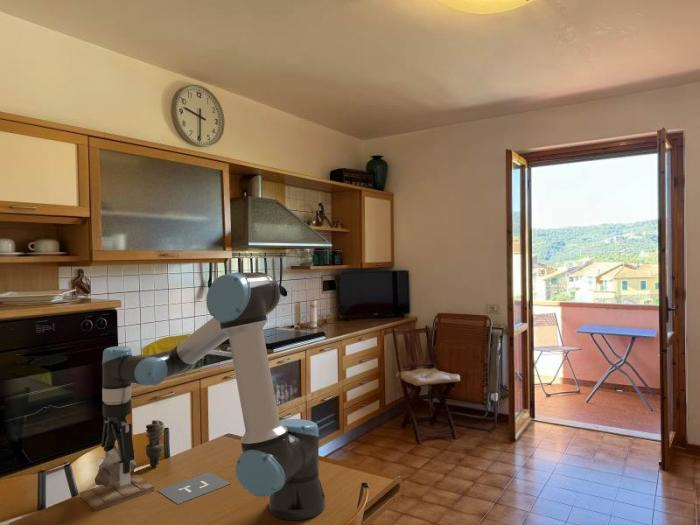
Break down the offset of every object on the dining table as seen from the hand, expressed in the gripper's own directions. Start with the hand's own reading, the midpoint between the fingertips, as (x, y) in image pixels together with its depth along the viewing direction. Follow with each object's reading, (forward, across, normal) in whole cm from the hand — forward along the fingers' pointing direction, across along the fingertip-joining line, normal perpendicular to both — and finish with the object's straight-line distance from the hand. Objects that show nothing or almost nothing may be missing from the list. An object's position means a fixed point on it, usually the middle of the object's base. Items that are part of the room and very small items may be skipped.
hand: (117, 478), depth 142 cm
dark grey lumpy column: (+5, +10, -16) cm, 19 cm away
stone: (0, 0, 0) cm, 0 cm away
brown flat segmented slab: (+4, 0, 0) cm, 4 cm away
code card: (+4, -13, -17) cm, 22 cm away
